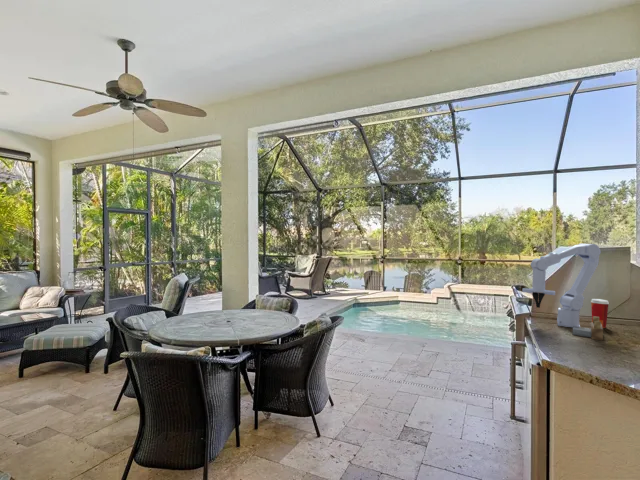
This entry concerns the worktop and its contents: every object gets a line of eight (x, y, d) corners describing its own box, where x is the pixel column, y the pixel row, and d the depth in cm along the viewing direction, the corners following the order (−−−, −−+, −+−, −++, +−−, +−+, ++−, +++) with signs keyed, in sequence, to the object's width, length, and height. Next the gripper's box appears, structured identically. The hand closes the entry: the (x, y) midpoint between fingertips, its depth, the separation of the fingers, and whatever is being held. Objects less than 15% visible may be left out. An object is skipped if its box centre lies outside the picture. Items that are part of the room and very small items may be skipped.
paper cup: (601, 325, 186) (602, 298, 186) (612, 329, 178) (613, 301, 178) (586, 324, 187) (586, 298, 186) (595, 328, 179) (596, 301, 179)
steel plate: (572, 335, 167) (572, 329, 167) (572, 332, 173) (572, 326, 173) (591, 338, 163) (591, 331, 163) (590, 334, 168) (590, 328, 168)
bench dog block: (591, 338, 160) (592, 321, 160) (590, 332, 172) (590, 315, 172) (602, 340, 158) (603, 323, 158) (600, 333, 170) (601, 317, 169)
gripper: (522, 280, 184) (521, 306, 185) (555, 283, 176) (554, 310, 176) (523, 279, 190) (522, 304, 190) (555, 282, 182) (555, 308, 182)
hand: (538, 307), depth 184 cm, fingers closed
